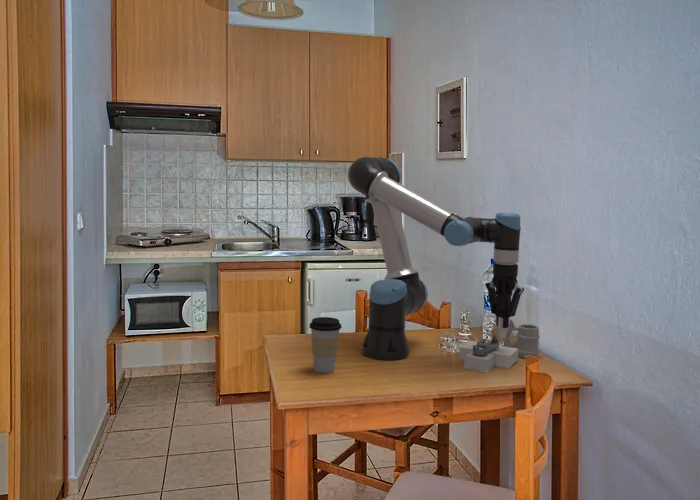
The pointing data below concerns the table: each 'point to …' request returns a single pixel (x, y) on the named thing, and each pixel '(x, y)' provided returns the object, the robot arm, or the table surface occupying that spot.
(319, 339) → the coffee cup
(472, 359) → the block
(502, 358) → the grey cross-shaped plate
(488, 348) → the latch arm
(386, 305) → the robot arm
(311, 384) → the table surface
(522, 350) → the mug
